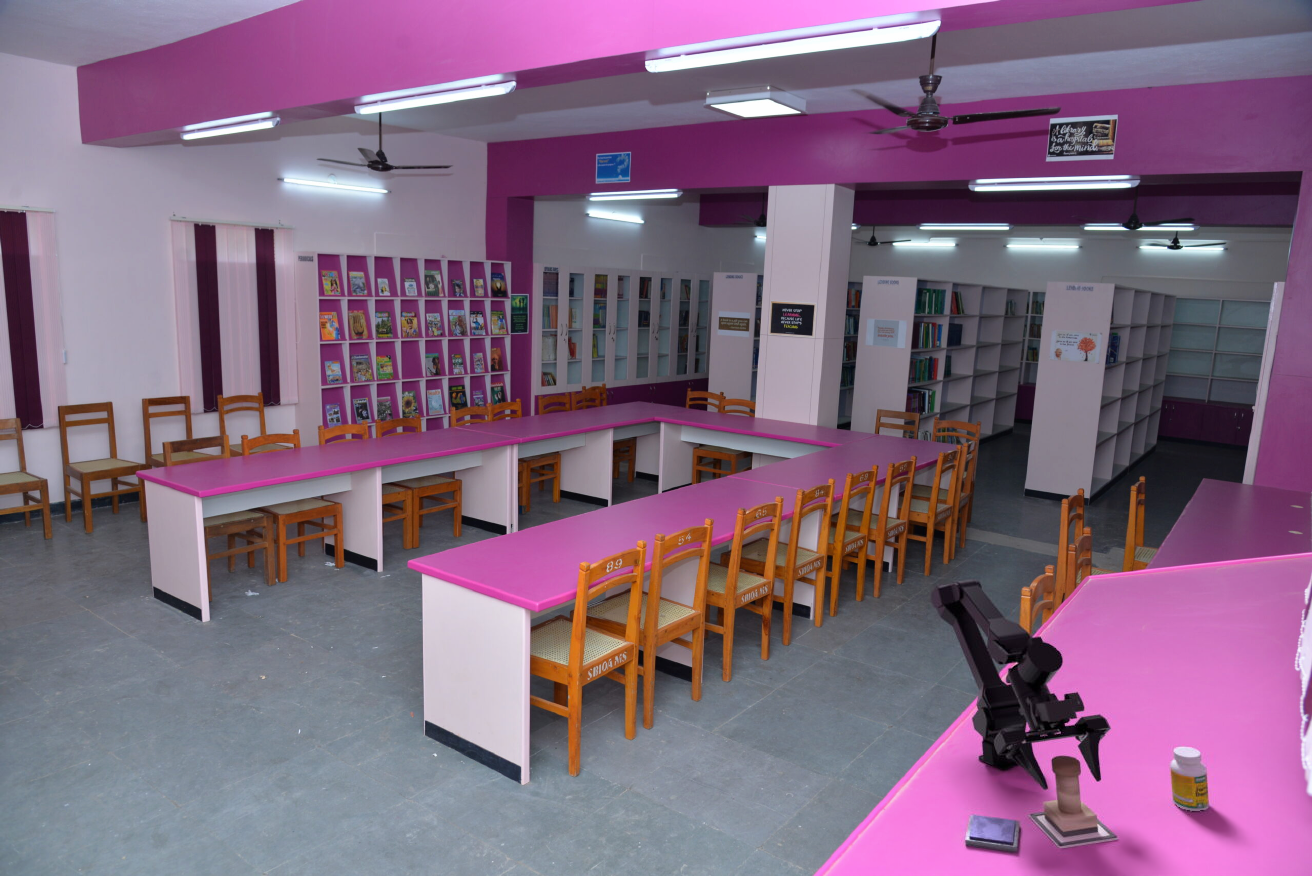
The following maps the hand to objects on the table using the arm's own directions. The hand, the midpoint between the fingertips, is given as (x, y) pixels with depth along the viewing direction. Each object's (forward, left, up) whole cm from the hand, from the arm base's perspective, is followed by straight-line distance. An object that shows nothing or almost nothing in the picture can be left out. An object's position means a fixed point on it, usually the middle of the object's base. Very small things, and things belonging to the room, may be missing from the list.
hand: (1072, 784), depth 140 cm
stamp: (-1, -2, -8) cm, 8 cm away
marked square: (-1, -1, -8) cm, 8 cm away
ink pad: (+11, -7, -8) cm, 16 cm away
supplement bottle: (-22, +6, -9) cm, 24 cm away
